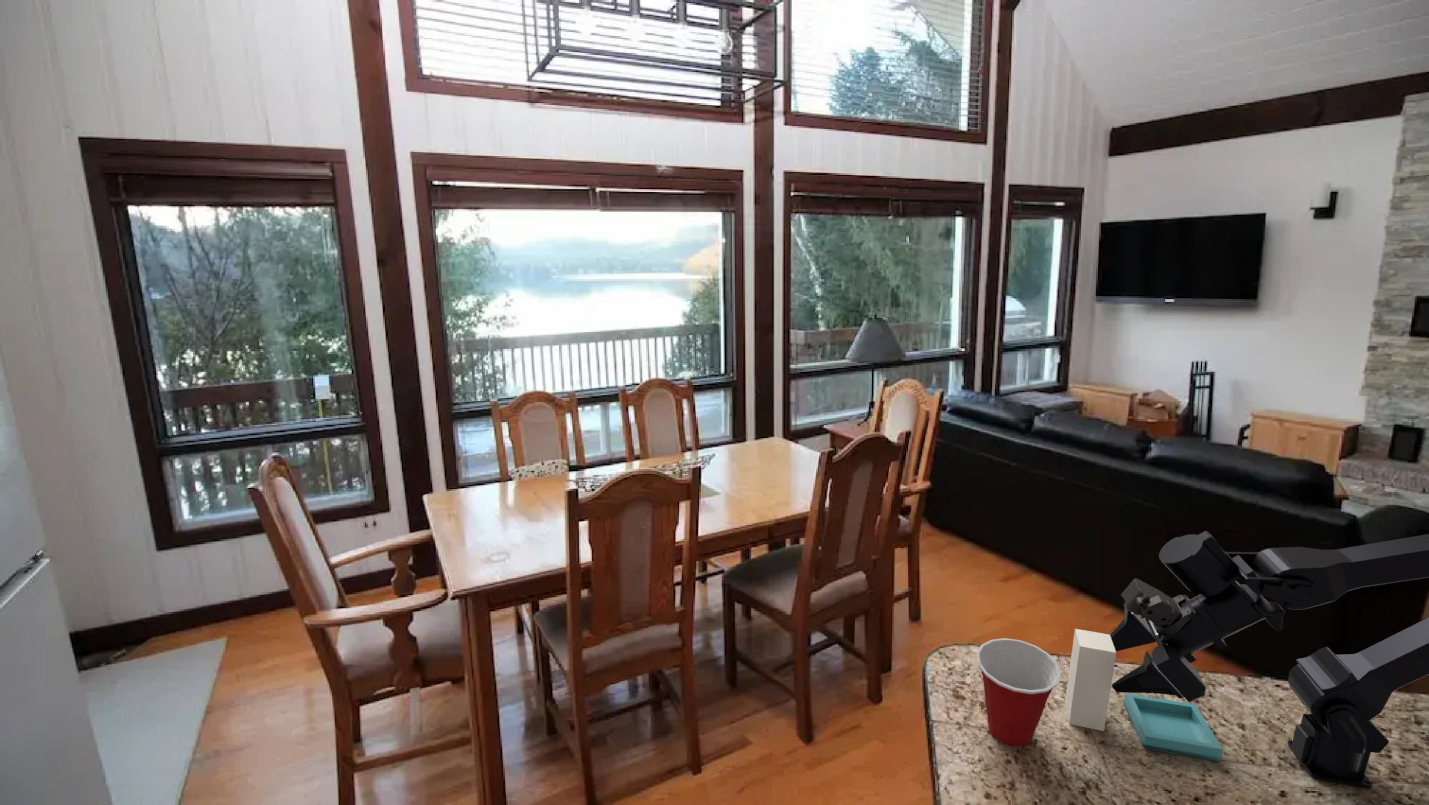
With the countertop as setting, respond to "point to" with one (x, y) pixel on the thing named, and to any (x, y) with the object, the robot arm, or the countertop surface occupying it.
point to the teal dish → (1172, 727)
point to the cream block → (1090, 679)
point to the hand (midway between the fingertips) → (1107, 668)
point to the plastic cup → (1015, 687)
